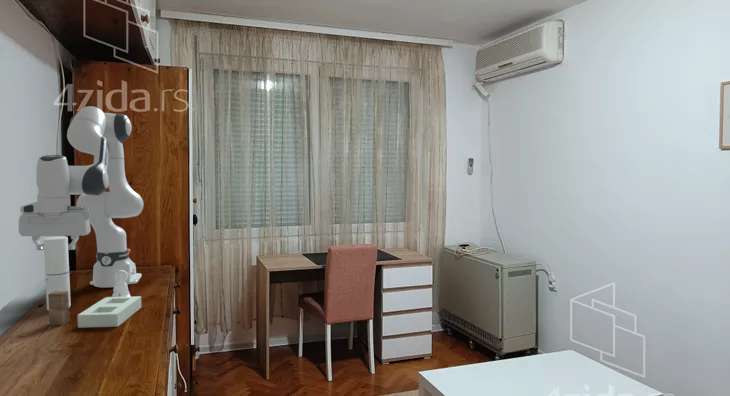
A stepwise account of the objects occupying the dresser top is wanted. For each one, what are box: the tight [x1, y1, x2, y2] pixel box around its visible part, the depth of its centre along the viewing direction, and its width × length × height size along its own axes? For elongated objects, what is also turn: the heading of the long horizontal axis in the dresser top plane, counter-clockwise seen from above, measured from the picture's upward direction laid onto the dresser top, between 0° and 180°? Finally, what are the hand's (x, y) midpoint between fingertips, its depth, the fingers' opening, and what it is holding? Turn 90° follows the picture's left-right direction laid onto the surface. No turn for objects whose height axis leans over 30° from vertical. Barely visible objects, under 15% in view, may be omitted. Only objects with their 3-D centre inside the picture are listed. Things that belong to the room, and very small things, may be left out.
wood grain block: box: [48, 291, 71, 326], centre depth 156 cm, size 4×4×10 cm
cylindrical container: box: [43, 236, 72, 311], centre depth 171 cm, size 7×7×25 cm
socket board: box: [77, 295, 142, 329], centre depth 162 cm, size 20×12×4 cm, turn 5°
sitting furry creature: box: [111, 270, 132, 297], centre depth 178 cm, size 10×9×12 cm
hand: (56, 249), depth 154 cm, fingers open, 8 cm apart
